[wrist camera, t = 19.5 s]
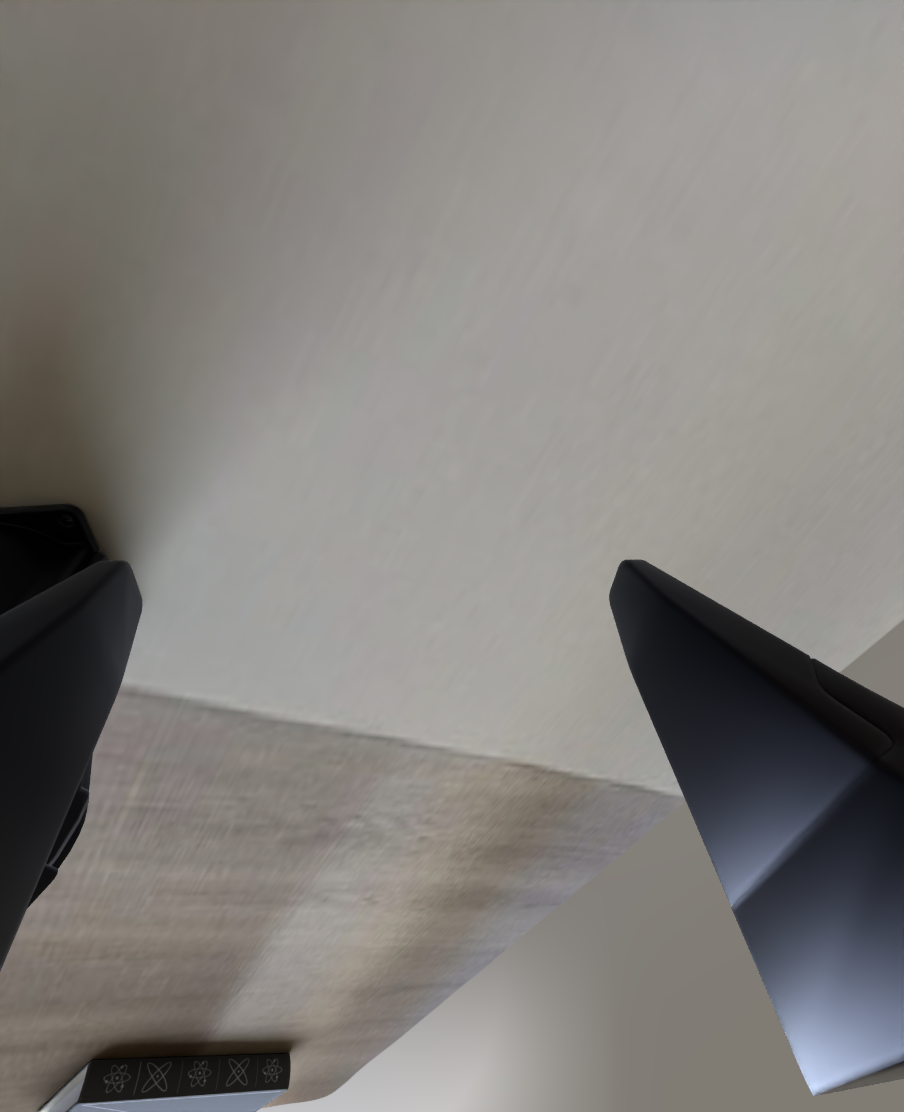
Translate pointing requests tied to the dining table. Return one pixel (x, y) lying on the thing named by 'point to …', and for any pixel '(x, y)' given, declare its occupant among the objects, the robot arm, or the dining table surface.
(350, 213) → the dining table surface
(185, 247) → the dining table surface
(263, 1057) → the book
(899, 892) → the robot arm
